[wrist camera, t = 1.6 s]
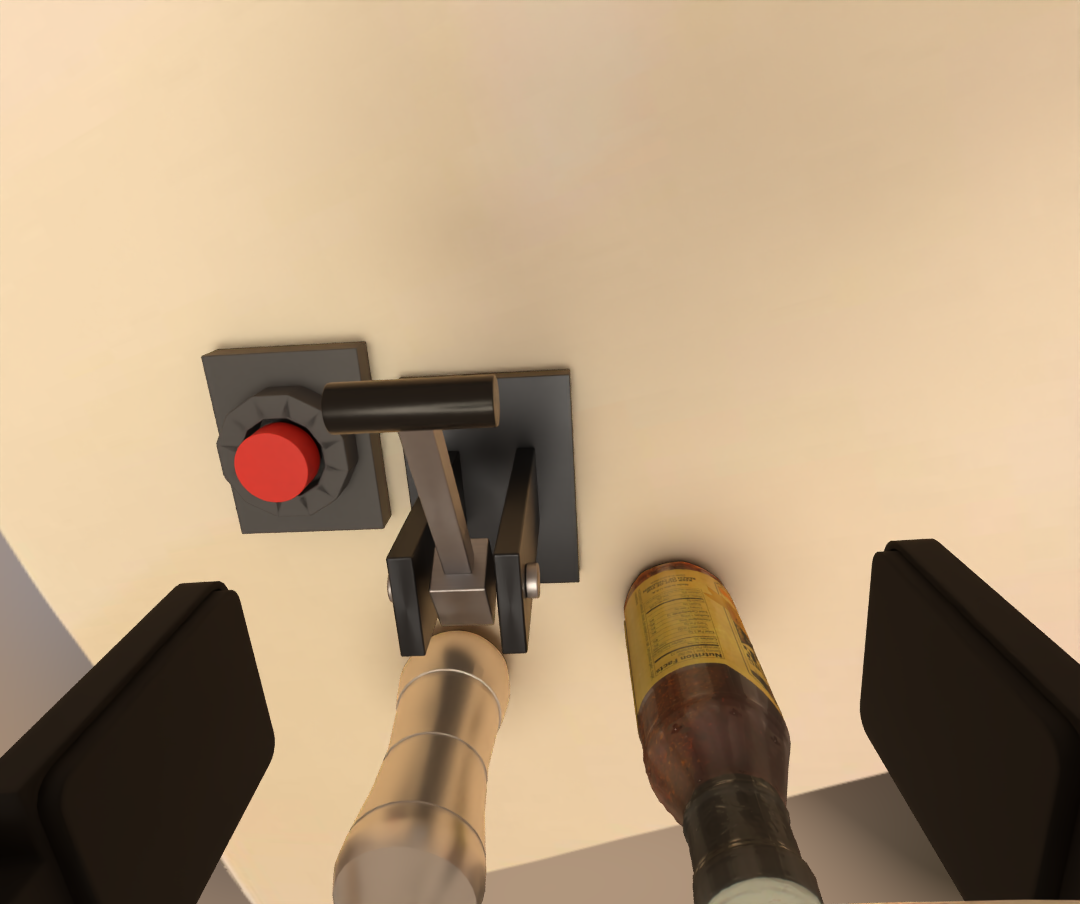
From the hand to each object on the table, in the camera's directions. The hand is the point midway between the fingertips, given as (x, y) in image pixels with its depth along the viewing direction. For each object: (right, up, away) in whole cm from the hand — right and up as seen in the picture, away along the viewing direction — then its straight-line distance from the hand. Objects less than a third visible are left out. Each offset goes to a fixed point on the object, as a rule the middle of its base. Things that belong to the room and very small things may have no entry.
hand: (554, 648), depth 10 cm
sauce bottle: (+8, -6, +30) cm, 32 cm away
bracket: (-3, +1, +28) cm, 28 cm away
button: (-13, +3, +25) cm, 28 cm away
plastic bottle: (-5, -10, +32) cm, 34 cm away
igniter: (-13, +4, +28) cm, 31 cm away
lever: (-4, +2, +15) cm, 16 cm away
